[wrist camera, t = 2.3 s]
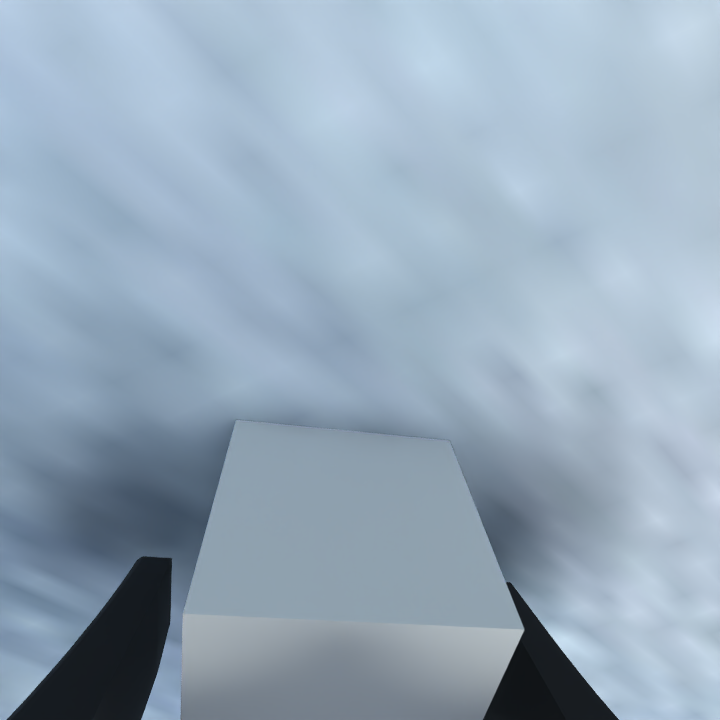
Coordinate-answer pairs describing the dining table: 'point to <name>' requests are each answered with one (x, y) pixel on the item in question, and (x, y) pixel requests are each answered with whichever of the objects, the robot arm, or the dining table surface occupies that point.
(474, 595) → the tall pale grey block
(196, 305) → the dining table surface
